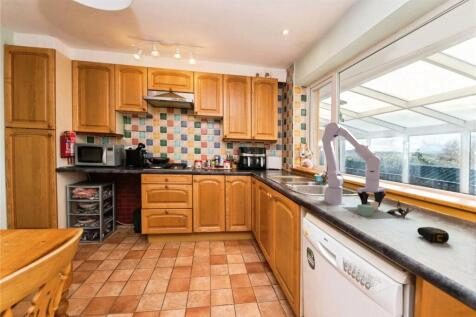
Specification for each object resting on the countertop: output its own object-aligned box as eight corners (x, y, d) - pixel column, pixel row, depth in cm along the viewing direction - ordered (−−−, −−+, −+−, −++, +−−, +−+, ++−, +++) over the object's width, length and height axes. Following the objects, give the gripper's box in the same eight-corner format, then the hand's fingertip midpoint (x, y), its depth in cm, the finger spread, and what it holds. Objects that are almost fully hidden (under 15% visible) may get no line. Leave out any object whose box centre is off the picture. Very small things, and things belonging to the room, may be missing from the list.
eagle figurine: (417, 216, 94) (400, 206, 104) (412, 202, 93) (395, 193, 102) (400, 225, 95) (385, 214, 104) (394, 211, 93) (379, 202, 103)
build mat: (341, 208, 108) (341, 207, 108) (369, 207, 111) (369, 206, 111) (369, 219, 91) (369, 218, 91) (401, 218, 93) (401, 218, 93)
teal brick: (357, 213, 99) (357, 204, 99) (365, 212, 100) (366, 204, 99) (364, 216, 94) (364, 207, 94) (373, 215, 95) (373, 207, 95)
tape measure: (415, 235, 75) (416, 225, 75) (438, 237, 74) (438, 226, 74) (429, 244, 69) (430, 232, 68) (454, 246, 67) (455, 234, 67)
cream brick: (363, 207, 108) (363, 200, 108) (370, 207, 109) (371, 200, 109) (370, 210, 104) (370, 202, 104) (378, 210, 105) (378, 202, 105)
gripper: (365, 180, 101) (363, 209, 101) (391, 181, 103) (390, 208, 104) (354, 178, 108) (353, 205, 108) (379, 178, 110) (378, 204, 111)
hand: (370, 206), depth 107 cm, fingers open, 7 cm apart
